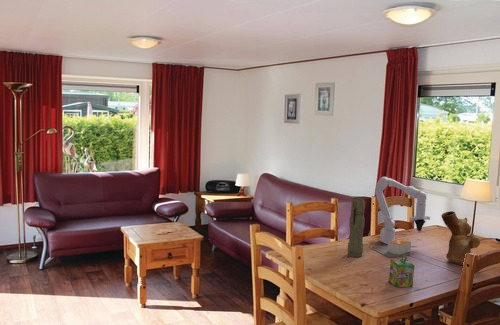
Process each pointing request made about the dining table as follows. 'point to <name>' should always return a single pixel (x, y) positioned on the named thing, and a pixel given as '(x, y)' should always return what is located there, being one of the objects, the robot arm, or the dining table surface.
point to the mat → (384, 251)
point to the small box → (399, 247)
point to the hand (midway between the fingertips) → (418, 230)
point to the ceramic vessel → (459, 238)
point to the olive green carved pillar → (356, 228)
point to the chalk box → (401, 272)
